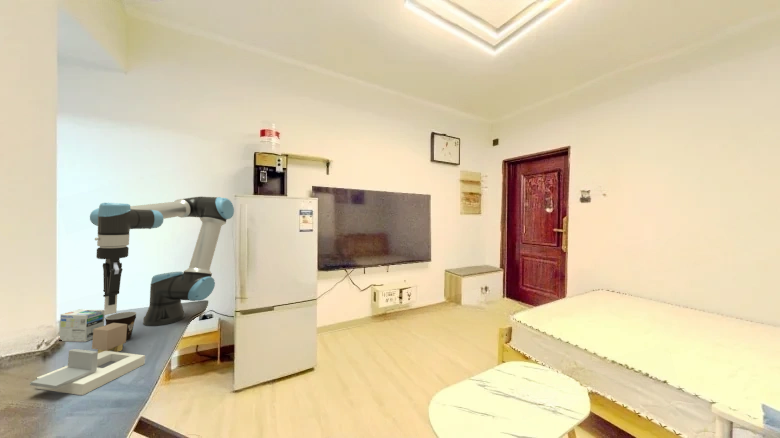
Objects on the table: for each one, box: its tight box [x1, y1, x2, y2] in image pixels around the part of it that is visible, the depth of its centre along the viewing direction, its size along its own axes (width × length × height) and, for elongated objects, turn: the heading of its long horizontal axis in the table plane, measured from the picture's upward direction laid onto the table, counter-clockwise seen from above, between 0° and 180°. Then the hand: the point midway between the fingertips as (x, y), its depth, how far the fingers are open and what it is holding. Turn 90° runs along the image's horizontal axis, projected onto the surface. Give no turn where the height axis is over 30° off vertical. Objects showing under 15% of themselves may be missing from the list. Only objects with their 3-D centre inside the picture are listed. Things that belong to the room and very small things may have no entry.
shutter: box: [29, 348, 98, 389], centre depth 72 cm, size 8×8×6 cm
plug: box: [91, 323, 127, 353], centre depth 92 cm, size 6×6×10 cm
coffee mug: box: [104, 311, 137, 342], centre depth 103 cm, size 12×9×10 cm
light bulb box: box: [58, 308, 106, 343], centre depth 102 cm, size 11×7×11 cm, turn 92°
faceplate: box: [34, 350, 146, 396], centre depth 79 cm, size 16×16×3 cm
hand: (110, 313), depth 88 cm, fingers closed
